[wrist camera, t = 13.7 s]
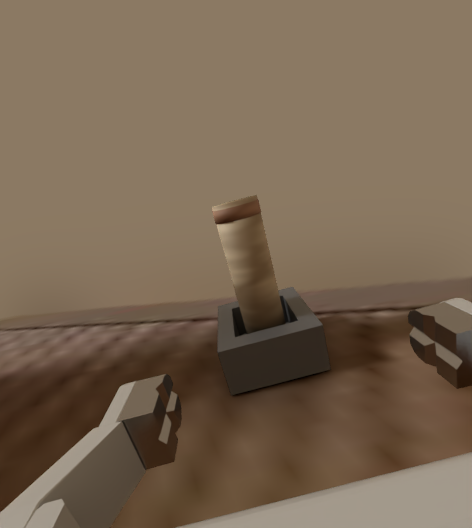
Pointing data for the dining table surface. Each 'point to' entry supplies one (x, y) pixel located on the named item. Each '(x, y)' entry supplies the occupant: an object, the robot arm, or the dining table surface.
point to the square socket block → (271, 346)
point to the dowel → (249, 263)
